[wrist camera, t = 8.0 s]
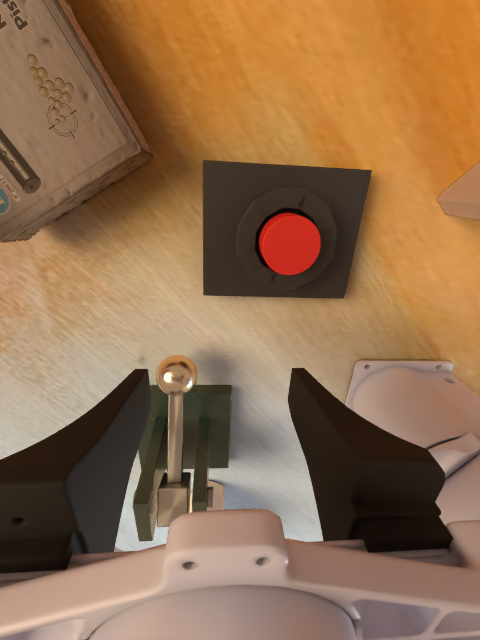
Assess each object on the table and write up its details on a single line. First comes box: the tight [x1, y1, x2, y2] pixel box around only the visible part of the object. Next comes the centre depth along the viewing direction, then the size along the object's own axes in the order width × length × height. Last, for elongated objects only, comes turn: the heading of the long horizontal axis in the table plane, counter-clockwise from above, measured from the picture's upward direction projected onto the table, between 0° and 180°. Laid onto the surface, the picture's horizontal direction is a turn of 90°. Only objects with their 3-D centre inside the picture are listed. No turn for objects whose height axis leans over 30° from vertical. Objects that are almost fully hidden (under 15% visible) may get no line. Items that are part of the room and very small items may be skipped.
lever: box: [156, 355, 198, 527], centre depth 23 cm, size 12×3×3 cm, turn 177°
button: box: [259, 213, 321, 275], centre depth 18 cm, size 4×4×2 cm
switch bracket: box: [133, 385, 232, 541], centre depth 25 cm, size 10×9×9 cm
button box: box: [203, 160, 372, 298], centre depth 20 cm, size 11×9×3 cm
